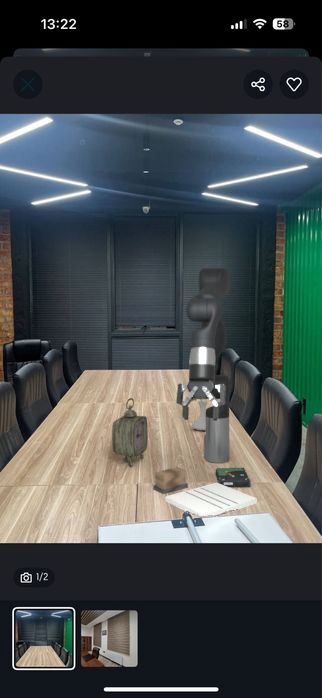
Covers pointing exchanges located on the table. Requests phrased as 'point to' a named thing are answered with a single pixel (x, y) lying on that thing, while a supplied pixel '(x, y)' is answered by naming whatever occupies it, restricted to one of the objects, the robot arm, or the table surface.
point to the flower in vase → (201, 421)
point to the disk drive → (233, 477)
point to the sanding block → (170, 480)
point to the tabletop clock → (130, 434)
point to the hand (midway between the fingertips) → (200, 420)
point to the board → (210, 500)
